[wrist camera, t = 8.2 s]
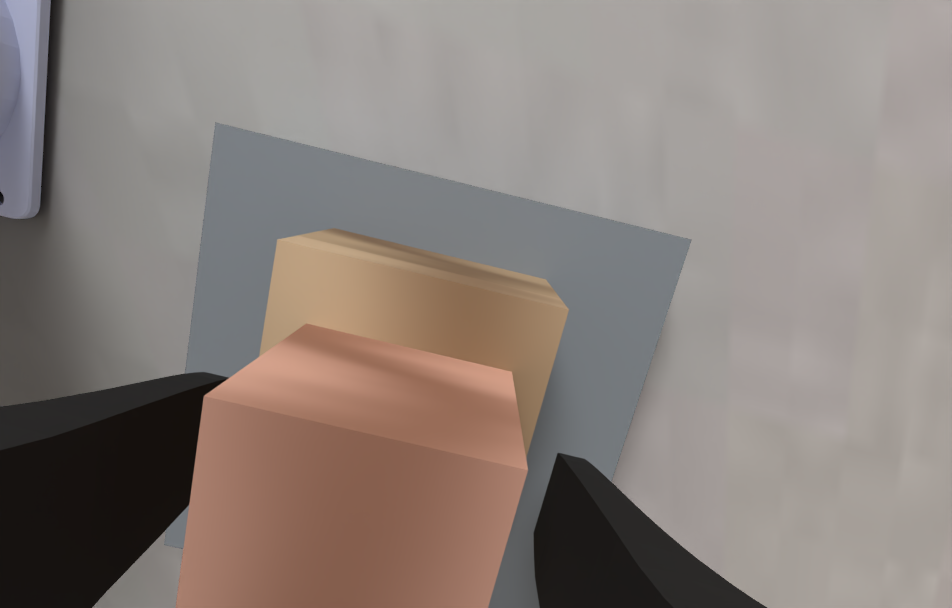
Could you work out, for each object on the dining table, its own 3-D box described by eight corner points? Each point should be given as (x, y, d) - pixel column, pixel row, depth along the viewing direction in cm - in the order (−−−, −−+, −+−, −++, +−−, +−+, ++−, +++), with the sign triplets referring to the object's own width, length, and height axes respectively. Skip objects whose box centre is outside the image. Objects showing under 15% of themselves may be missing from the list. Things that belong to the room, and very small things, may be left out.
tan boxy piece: (284, 503, 14) (220, 601, 11) (334, 228, 12) (277, 239, 9) (472, 545, 14) (469, 655, 11) (545, 279, 13) (569, 309, 9)
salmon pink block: (266, 547, 10) (160, 721, 7) (306, 323, 9) (203, 396, 6) (453, 588, 11) (438, 777, 7) (512, 371, 9) (527, 469, 6)
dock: (210, 494, 17) (164, 544, 14) (260, 135, 14) (215, 122, 12) (551, 569, 17) (562, 630, 15) (657, 232, 15) (691, 239, 12)
